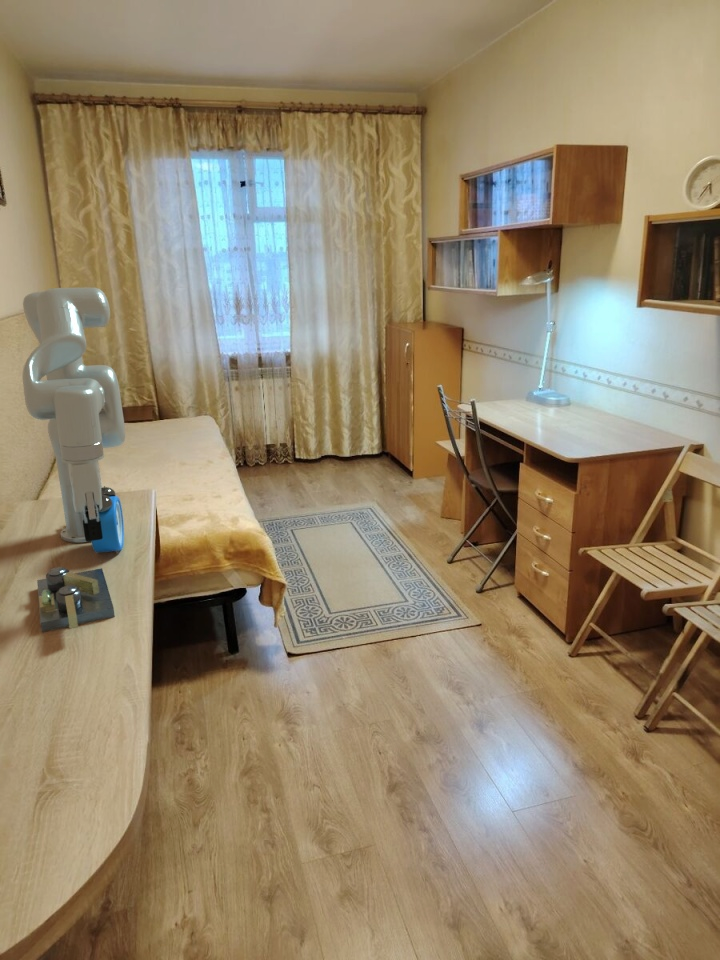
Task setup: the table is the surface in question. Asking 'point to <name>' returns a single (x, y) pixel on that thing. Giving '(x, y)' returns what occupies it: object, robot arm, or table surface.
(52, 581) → the knob
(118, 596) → the table surface
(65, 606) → the knob
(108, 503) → the alarm clock
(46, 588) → the control panel
